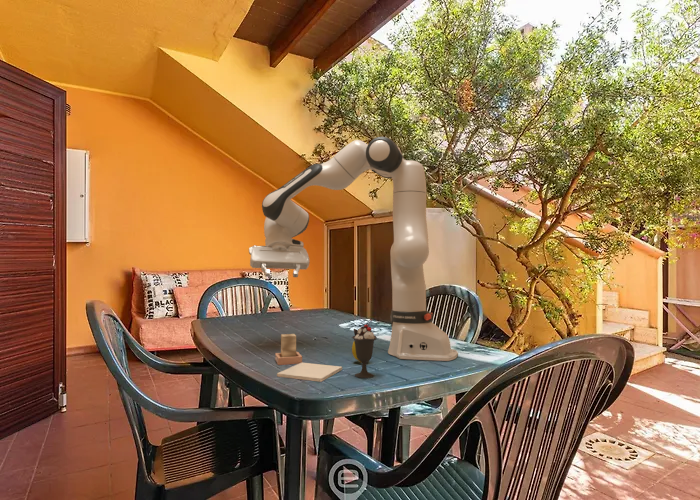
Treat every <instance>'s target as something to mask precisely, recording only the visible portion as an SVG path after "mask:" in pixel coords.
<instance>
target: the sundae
mask: <svg viewBox="0 0 700 500" xmlns="http://www.w3.org/2000/svg"><path fill="white" fill-rule="evenodd" d="M372 321H373V319H372V318H369V320H368V321H367V323H365V324H364V325H363V326H361V327H359V328H358V330H357V329H356V328H354V329H353V333H354V334H353V335H352V336H351V338H352V340H353V342H355V349H356V355H357V358H358V359H359V360H360V361H361V362H362V363H361V370H360V372H357V373H355V374H354V376H355V377H356V378H359V379H371V378H373V377H374V374H373V373H371V372H369V371H368V369H367V363H368V362H369V361H370V360H371V359H372V357H373V353H374V351H373V350H374V343H375V341H376V340H377V339H378V338H377V336H376V335H375V333H374V332H373V331H372V328H371V327H370V323H371V322H372Z"/></svg>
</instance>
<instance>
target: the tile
mask: <svg viewBox="0 0 700 500" xmlns="http://www.w3.org/2000/svg"><path fill="white" fill-rule="evenodd" d="M341 371H343V366H339V365H329V364H319V363H309V362H302V363H299V364H294V365H293V366H291V367H288V368H285V369H284V370H281V371H280V372H277V373H276V377H277V378H287V379H293V380H294V379H297V380H303V381H313V382H318V383H319V382H320V383H322V382H323V381H326V380H327V379H329V378H330V377H332V376H334V375H336V374H337V373H339V372H341Z"/></svg>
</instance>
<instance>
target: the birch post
mask: <svg viewBox="0 0 700 500" xmlns="http://www.w3.org/2000/svg"><path fill="white" fill-rule="evenodd" d="M296 352H297V335H296V334H295V333H286V334H285V333H284V334H280V353H281V357H295V356H296Z"/></svg>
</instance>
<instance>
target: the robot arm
mask: <svg viewBox="0 0 700 500" xmlns="http://www.w3.org/2000/svg"><path fill="white" fill-rule="evenodd" d="M368 170H370V171H372V172H373V173H374V174H376V175H378V176H380V177H382V178H384V179H389V180H390V179H392V188H393V189H392V223H393V224H392V225H393V226H392V227H393V243H392V245H391V248H390V251H389V252H390V253H389V254H390V273H391V275H390V276H391V289H392V291H391V292H392V293H391V295H392V296H391V297H392V299H391V300H392V301H391V302H392V303H391V304H392V309H391V312H390V324H391V325H390V326H391V335H390V342H389V347H388V349H387V353H388V354H389V355H391V356H393V357H396V358H397V359H400V360H415V361H416V360H419V361H438V362H439V361H440V362H449V361H453V360H456V358H457V357H458V355H459V354H458V353H459V352H458V350H456V349H453V348H452V346H451V340H450V337H449V336H448V334H447V333H446V332H445V331H444V330H442V329H441V328H440V327H438V325H436V324H435V323H433V312H430V311H429V310H427V286H426V285H427V284H426V279H425V273H424V264H425V262H426V261H427V260H428V257H429V255H430V248H429V233H428V224H427V181H426V180H427V179H426V173H425V167H424V166H423V164H422V163H420V161H419V162H418V160H417V161H416V160H413V159H412V160H410V159H409V160H408V159H405V156H404V155H403V153H402V150H401V149H400V148H399V146H398V145H397V144H396V142H395V141H394V140H392V139H391V138H389V137H386V136H378V137H374V138H373V139H372V140H371V141H370V142H369V143H368V144H367V143H366V142H365V141H362V140H360V139H355V140H352V141H351V142H349V143H348V144H347V145H345V146H344V147H342V148H341V149H340V150H339V151H338V152H337V153H336V154H334V155H333V157H332V158H330V159H329V160H327V161H326V162H322V163H314V164H312V165H310V166H308V167H307V168H305V169H304V170H302V171H301V172H299V173H298V174H296V176H294V177H293V178H292V179H290V180H288V181H287V182H286V183H285V184H283V185H282V186H280V187H278V188H277V189H275V190H273V191H271V192H269V193H268V194H267V195H266V196H265V197H264V198H263V200H262V203H261V208H262V209H261V210H262V213H263V216H264V217H265V219H264V224H263V225H264V227H263V231H264V232H263V233H264V238H265V241H264V243H265V245H255V244H254V245H252V246H249V248H248V253H249V255H250V260H249V265H250V267H251V268H252V269H260V270H261V271H262V272H263V273H264V277H266V278H267V277H271V276H270V275H271V270H270V269H277V270H278V269H279V270H293V272H292V277H293V278H298V277H299V272H300V270H307V269H308V268H309V267H310V257H309V253H308V250H307V249H306V248H305V247H304V245H305V244H304V242H303V241H301V240H298V239H295V237H297V236H299V235H301V234H303V233H304V232H305V231H306V230H307V229H308V226H309V223H310V215H309V214H310V213H308V212H307V211H306V210H305V209H304V208H302V207H301V206H300V205H298V204H297V203H296V202H294V201H293V200H292V199H294V197H296V195H298V194H300V193H301V192H302V191H304V190H305V189H307V188H308V187H311V186H319V187H323V188H326V189H329V190H333V191H340V190H344V189H346V188H348V187H350V185H352V183H354V181H356V180H357V179H358V178H359V177H360V175H362V174H363V173H364V172H365V171H368Z"/></svg>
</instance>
